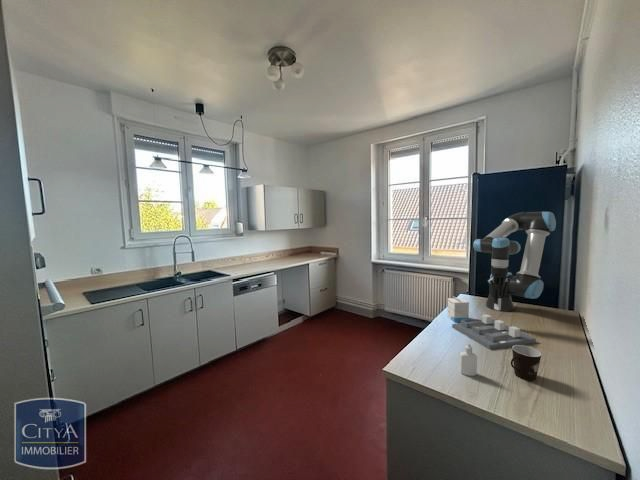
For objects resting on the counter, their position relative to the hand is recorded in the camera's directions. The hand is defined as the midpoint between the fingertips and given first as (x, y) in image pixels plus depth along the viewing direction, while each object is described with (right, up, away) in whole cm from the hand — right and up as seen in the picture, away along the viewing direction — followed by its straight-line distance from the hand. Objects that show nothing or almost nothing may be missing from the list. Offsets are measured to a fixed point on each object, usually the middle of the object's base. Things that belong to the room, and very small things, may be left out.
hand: (497, 309), depth 141 cm
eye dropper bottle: (-40, -14, -41) cm, 59 cm away
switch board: (-10, -10, -9) cm, 17 cm away
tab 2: (-5, -8, -8) cm, 12 cm away
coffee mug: (-21, -14, -43) cm, 50 cm away
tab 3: (-3, -8, -16) cm, 18 cm away
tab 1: (-6, -7, -1) cm, 10 cm away
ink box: (-16, -9, +11) cm, 21 cm away
